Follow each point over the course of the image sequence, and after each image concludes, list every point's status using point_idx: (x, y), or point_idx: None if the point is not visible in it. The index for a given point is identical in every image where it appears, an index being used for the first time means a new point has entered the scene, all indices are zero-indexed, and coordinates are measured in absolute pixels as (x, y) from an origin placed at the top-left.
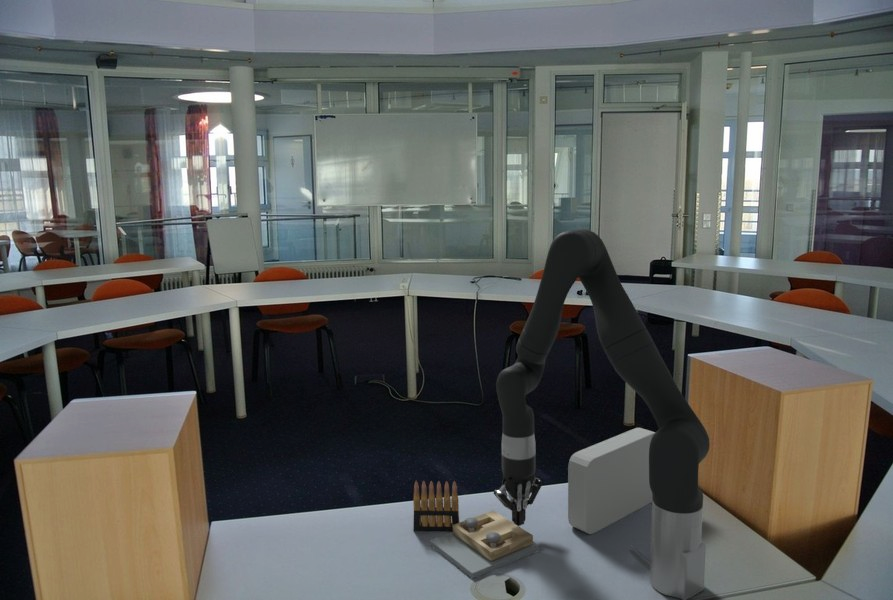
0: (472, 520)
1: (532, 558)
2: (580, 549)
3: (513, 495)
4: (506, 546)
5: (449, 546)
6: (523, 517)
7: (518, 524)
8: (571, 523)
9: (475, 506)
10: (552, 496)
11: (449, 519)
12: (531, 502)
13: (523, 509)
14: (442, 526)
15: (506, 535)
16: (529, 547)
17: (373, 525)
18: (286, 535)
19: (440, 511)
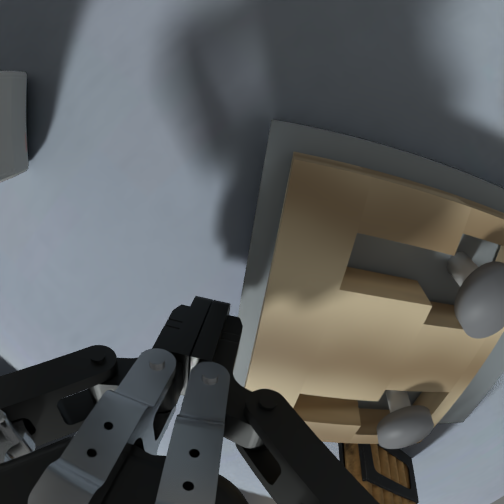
0: (401, 434)
1: (356, 103)
2: (125, 9)
3: (237, 491)
4: (484, 212)
5: (478, 379)
6: (190, 319)
7: (229, 310)
8: (23, 154)
9: None
10: (3, 325)
11: (374, 461)
12: (98, 354)
13: (170, 355)
14: (380, 448)
15: (374, 288)
16: (327, 149)
17: (420, 486)
18: (483, 491)
19: (391, 490)
